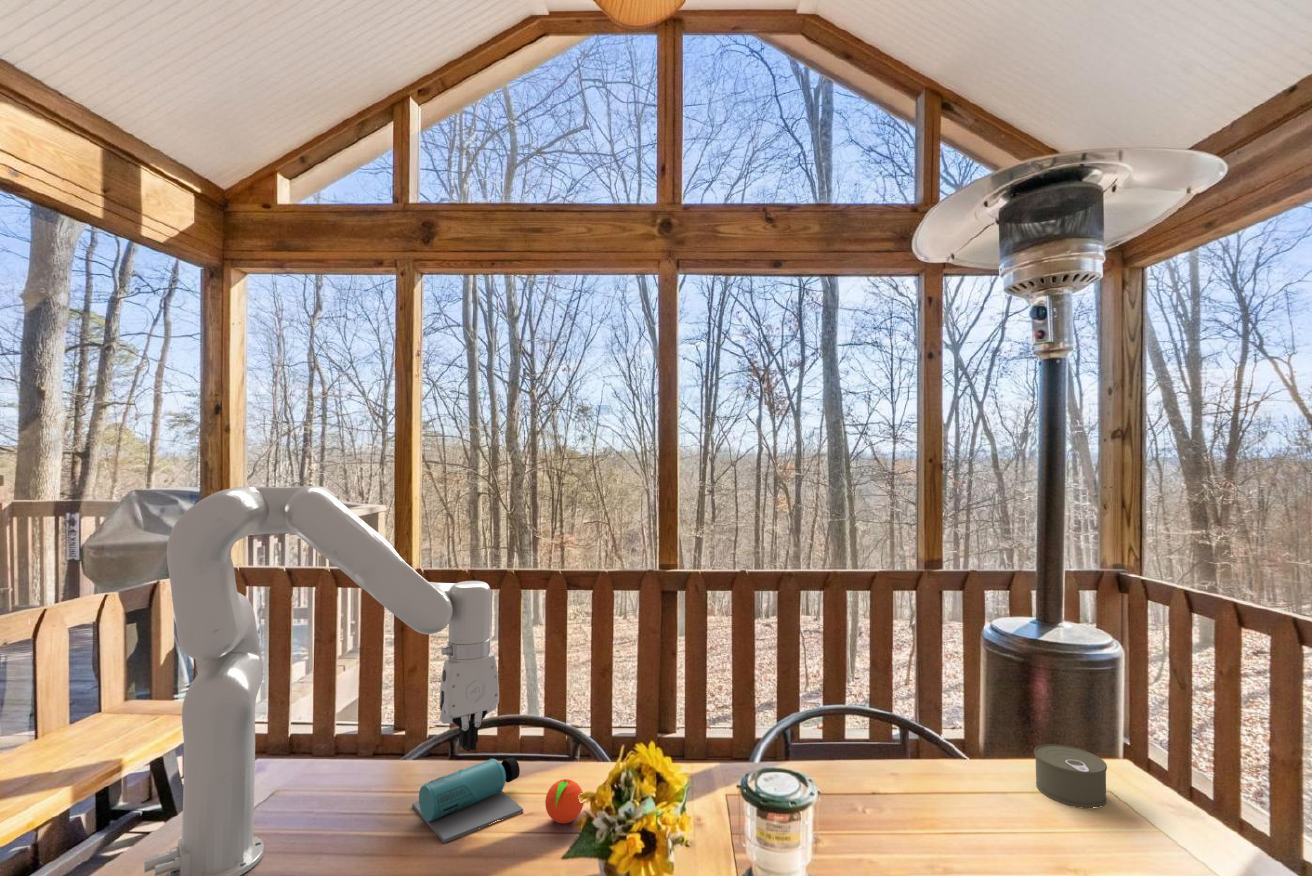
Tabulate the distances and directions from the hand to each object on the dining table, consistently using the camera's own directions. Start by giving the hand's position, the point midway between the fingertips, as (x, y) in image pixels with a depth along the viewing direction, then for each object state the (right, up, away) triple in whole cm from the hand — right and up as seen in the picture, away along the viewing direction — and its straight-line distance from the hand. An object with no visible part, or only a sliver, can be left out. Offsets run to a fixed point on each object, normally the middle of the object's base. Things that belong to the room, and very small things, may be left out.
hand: (468, 747), depth 120 cm
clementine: (+18, -11, -4) cm, 22 cm away
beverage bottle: (-7, -7, -7) cm, 12 cm away
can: (+117, -12, +6) cm, 117 cm away
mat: (0, -11, 0) cm, 11 cm away
